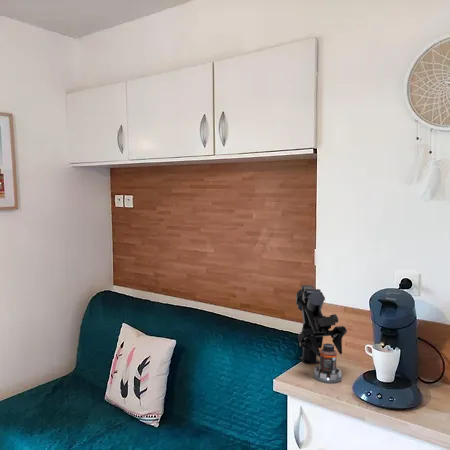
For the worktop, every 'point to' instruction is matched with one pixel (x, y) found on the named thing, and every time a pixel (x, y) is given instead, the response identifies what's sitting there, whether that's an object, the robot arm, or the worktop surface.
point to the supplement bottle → (328, 360)
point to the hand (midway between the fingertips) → (330, 355)
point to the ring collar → (323, 376)
